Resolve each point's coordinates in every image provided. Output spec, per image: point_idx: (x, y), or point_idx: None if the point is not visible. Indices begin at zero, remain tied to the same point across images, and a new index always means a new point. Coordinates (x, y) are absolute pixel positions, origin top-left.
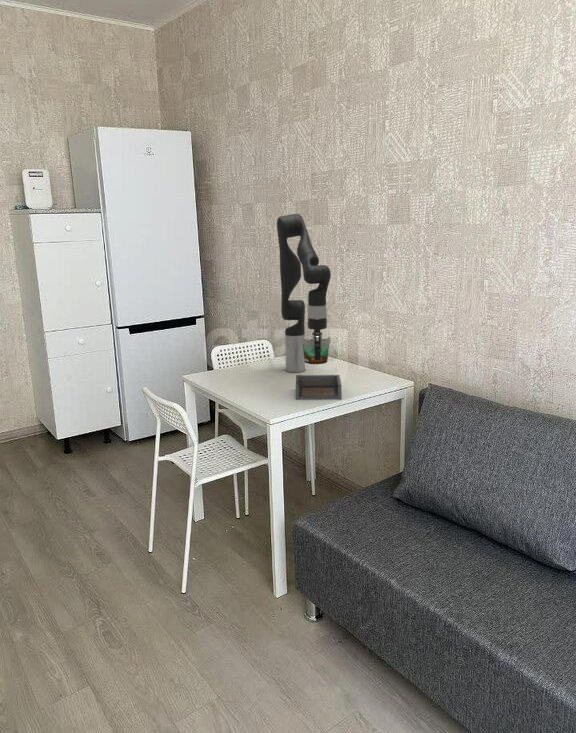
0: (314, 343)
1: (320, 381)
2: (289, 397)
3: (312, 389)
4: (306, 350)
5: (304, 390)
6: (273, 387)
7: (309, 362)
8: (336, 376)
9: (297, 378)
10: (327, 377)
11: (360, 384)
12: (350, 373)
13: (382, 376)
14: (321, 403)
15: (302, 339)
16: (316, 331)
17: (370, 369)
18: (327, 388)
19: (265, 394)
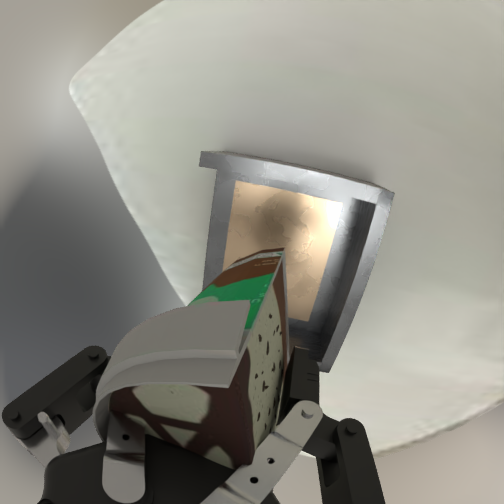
0: (46, 377)
1: (341, 292)
2: (257, 129)
3: (311, 241)
4: (195, 303)
5: (304, 204)
6: (418, 99)
7: (221, 273)
8: (320, 360)
9: (329, 182)
10: (333, 328)
11: (348, 395)
12: (456, 388)
13: (388, 437)
14: (164, 235)
15: (202, 366)
16: (45, 497)
17: (452, 423)
18: (308, 300)
19: (321, 46)
